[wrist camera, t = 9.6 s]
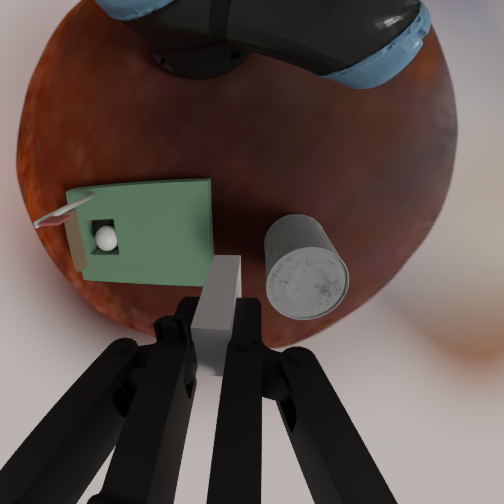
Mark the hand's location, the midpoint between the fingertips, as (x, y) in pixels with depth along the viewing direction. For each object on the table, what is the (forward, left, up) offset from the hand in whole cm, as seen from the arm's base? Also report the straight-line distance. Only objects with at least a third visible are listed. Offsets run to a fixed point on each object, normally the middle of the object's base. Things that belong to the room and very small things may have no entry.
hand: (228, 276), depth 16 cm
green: (+6, -17, -24) cm, 30 cm away
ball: (+6, -22, -22) cm, 32 cm away
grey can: (+8, +7, -25) cm, 27 cm away
